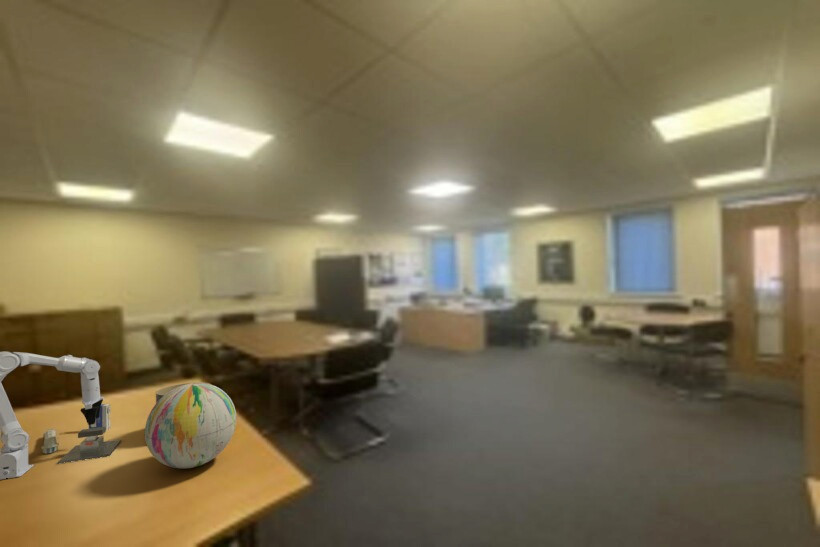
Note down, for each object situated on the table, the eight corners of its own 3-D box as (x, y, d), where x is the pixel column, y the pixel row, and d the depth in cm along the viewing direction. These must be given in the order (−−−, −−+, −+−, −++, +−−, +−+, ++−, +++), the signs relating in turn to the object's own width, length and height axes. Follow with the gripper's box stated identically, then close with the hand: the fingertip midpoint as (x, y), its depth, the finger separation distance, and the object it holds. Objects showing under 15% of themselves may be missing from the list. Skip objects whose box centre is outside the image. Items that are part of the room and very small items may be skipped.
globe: (253, 457, 153) (252, 379, 154) (174, 493, 127) (173, 399, 128) (207, 442, 168) (206, 371, 169) (128, 472, 143) (127, 388, 143)
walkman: (88, 431, 184) (88, 406, 184) (92, 429, 186) (92, 404, 187) (107, 430, 185) (107, 404, 185) (110, 428, 187) (110, 403, 188)
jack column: (102, 449, 161) (102, 429, 161) (77, 452, 158) (77, 433, 158) (105, 445, 164) (105, 426, 164) (81, 448, 161) (81, 429, 161)
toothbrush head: (57, 427, 180) (58, 434, 162) (57, 442, 179) (59, 451, 161) (41, 430, 177) (41, 437, 159) (41, 445, 176) (41, 454, 158)
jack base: (109, 456, 156) (109, 443, 157) (58, 464, 150) (58, 450, 151) (121, 441, 171) (121, 429, 171) (75, 447, 165) (75, 435, 165)
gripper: (99, 391, 158) (102, 424, 159) (106, 382, 171) (108, 413, 172) (76, 395, 155) (80, 429, 155) (85, 385, 168) (88, 417, 168)
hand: (93, 421), depth 163 cm, fingers open, 7 cm apart
